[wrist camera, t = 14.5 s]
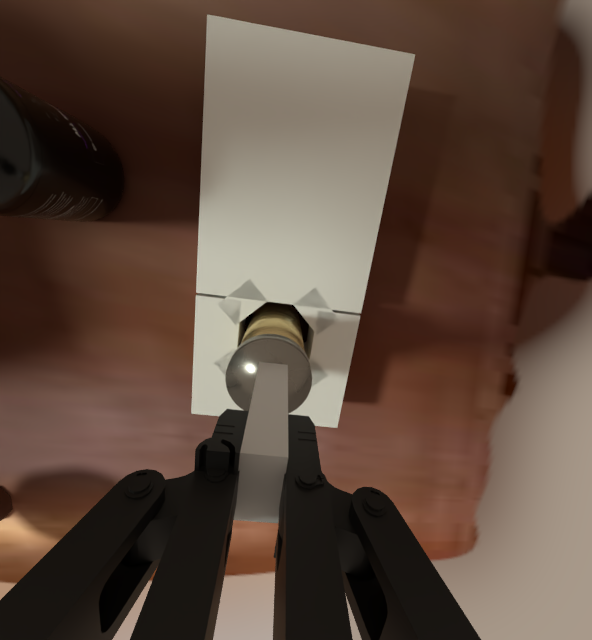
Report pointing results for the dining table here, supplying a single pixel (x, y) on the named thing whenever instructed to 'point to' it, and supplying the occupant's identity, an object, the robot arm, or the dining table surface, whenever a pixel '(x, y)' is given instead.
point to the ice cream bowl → (4, 504)
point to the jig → (290, 195)
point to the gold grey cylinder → (270, 355)
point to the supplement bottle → (53, 162)
